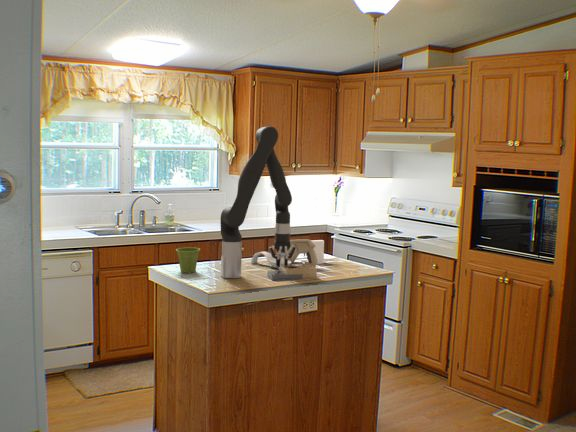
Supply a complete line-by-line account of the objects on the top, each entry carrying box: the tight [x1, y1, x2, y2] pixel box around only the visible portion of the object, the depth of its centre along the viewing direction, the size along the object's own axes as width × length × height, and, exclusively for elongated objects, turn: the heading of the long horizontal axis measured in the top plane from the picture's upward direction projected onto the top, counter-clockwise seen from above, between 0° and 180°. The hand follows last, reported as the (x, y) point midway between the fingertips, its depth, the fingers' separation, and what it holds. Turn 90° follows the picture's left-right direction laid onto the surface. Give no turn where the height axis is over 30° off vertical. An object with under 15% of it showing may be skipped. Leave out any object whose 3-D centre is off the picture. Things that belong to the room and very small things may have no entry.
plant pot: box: [175, 247, 201, 274], centre depth 294 cm, size 12×12×11 cm
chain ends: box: [266, 264, 318, 281], centre depth 286 cm, size 22×9×5 cm, turn 106°
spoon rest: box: [250, 251, 292, 270], centre depth 313 cm, size 24×12×7 cm, turn 55°
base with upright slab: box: [306, 239, 325, 265], centre depth 327 cm, size 9×9×12 cm
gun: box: [273, 239, 318, 268], centre depth 315 cm, size 24×3×15 cm, turn 59°
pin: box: [278, 252, 285, 271], centre depth 296 cm, size 4×4×10 cm
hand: (281, 266), depth 296 cm, fingers closed on pin, 3 cm apart
